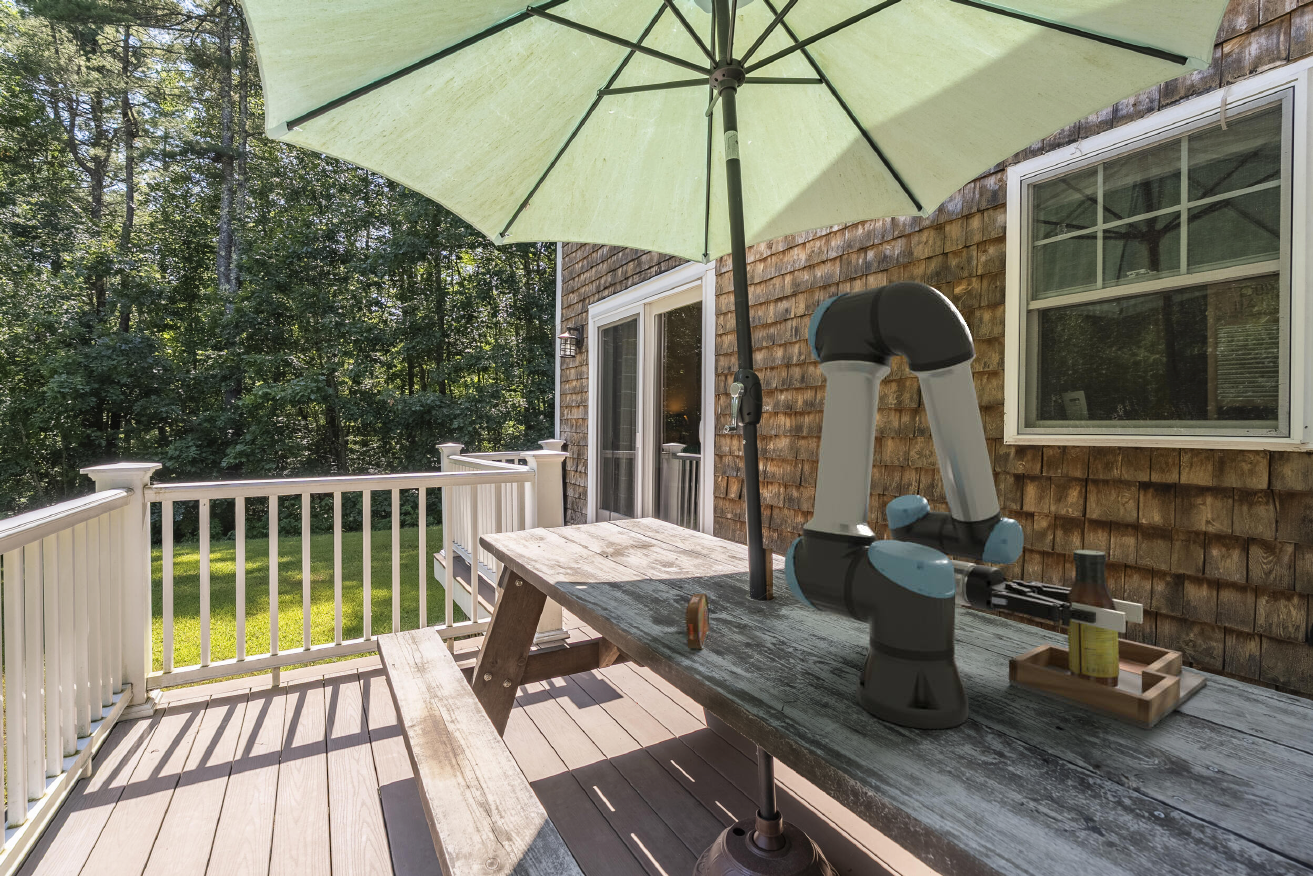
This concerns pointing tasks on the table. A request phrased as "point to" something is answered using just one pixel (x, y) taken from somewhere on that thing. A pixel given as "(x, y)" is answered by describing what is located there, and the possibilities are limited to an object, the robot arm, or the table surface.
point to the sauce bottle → (1089, 644)
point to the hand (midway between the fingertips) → (1133, 618)
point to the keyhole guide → (1139, 698)
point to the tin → (697, 620)
